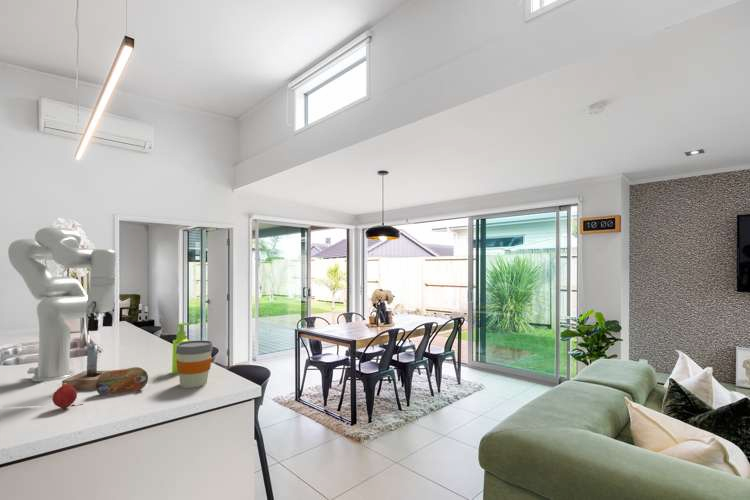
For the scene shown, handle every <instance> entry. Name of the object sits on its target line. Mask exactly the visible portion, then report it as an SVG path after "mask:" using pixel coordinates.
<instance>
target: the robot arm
mask: <svg viewBox="0 0 750 500" xmlns="http://www.w3.org/2000/svg"><path fill="white" fill-rule="evenodd" d="M34 235H35V236H34V238H22V239H16V240H14V241H12V242H11V243H10V244H9V246H8V248H7V254H8V260H9V262H10V264H11V266H12V268H13V269H14V270H15V271H16V272H17V273H18V274H19V275H20V276H21V278H22V279H23V281H24V283H25V284H26V286H27V288H28V290H29V292H30V293H31V295H32V297H33V298H34V299H36V300H37V301H40V302H39V303H38V304H37V306H36V315H37V320H38V327H39V329H38V339H39V340H38V353H37V354H38V355H37V356H38V357H37V366H36V367H29V368H28V370H27V374H28V375H29V374H33V376H32V378H31V381H32V382H35V383H43V382H48V381H49V382H50V381H57V380H61V379H67V378H70V377H72V376H74V374H75V371H74V370H70V362H71V361H70V360H71V359H70V357H71V338H72V337H71V335H72V333H71V328H70V326H69V325H68V324H67V323H66V322H65V321H68V320H69V321H70V320H76V319H82V318H83V319H84V318H86V317H87V318H86V320H87V332H98V331H99V321H100V320H99V315H102V314H103V315H102V327H103V328H104V327H110V328H111V327H112V326H113V323H114V322H113V320H114V312H115V306H116V303H115V292H114V291H115V289H114V287H115V284H116V283H115V280H116V260H117V259H116V258H117V253H116V251H115V250H113V249H106V248H105V249H102V248H101V249H99V248H80V244H81V242H82V241H81V239H82V238H81V237H82V236H81V235H80V233H79V232H78V231H77V230H76V229H72V228H62V227H61V228H60V227H52V226H50V227H42V228H40V229H39V230H37V231H36V233H35V234H34ZM40 260H41V261H42V260H44V261H54V262H56V264H58V265H60V266H61V267H65V268H67V269H90V272H89V273H90V275H89V288H88V293H87V292H86V290H85V289H84V287H83V285H82V284H81V283H80V282H79V280H78V279H76V278H75V277H72V276H55V275H53V274H52V273H51V271H50V269H49V268H48V267H47V266H46V265H44V264H43V263H41V262H39V261H40Z"/></svg>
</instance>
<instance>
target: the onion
mask: <svg viewBox="0 0 750 500" xmlns="http://www.w3.org/2000/svg"><path fill="white" fill-rule="evenodd" d="M77 397H78V392H77V390H75V388H74V387H72V386H70V385H68V384H67V383H63V384H61V386H60V387H58V389H57V390H55V391H54V393H53V394H52V397H51V400H52V402H53V404H54V405H55V406H57V407H58V408H60V409H61V410H66V409H67V408H69V407H70V406H71V405H73V404H74V403H75V401H76V399H77Z"/></svg>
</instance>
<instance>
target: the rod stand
mask: <svg viewBox="0 0 750 500" xmlns="http://www.w3.org/2000/svg"><path fill="white" fill-rule="evenodd" d="M107 371H108V370H97V376H96V377H86V375H87V370H84V371H81V372H79V373H76V374H75V375H74V374H73V375H72V376H69V377H66V378H64V379H63V380H62V384H63V383H67V384H68V385H70V386H72V387H74V388H75V390H76V391H89V390H90V391H95V390H96V382H97V380H98V378H99V377H100V376H101V375H102V374H103V373H105V372H107ZM110 371H112V370H110ZM62 384H61V385H62ZM96 391H97V390H96Z"/></svg>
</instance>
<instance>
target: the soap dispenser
mask: <svg viewBox="0 0 750 500" xmlns="http://www.w3.org/2000/svg"><path fill="white" fill-rule="evenodd" d="M185 325H191V323H189V322H180V323H178V324H176V326H178V331H176V339H173V340H172V363H171V365H172V366H171V369H172V370H171V371H172V372H171V373H172V374H173V375H179V373H178V370H177V353H176V349H177V344H179V343H182V342H188V341H189V340H190V339H189V338H187V337H186V334H187V333H186V330H184V329H185V328H184V326H185Z"/></svg>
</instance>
